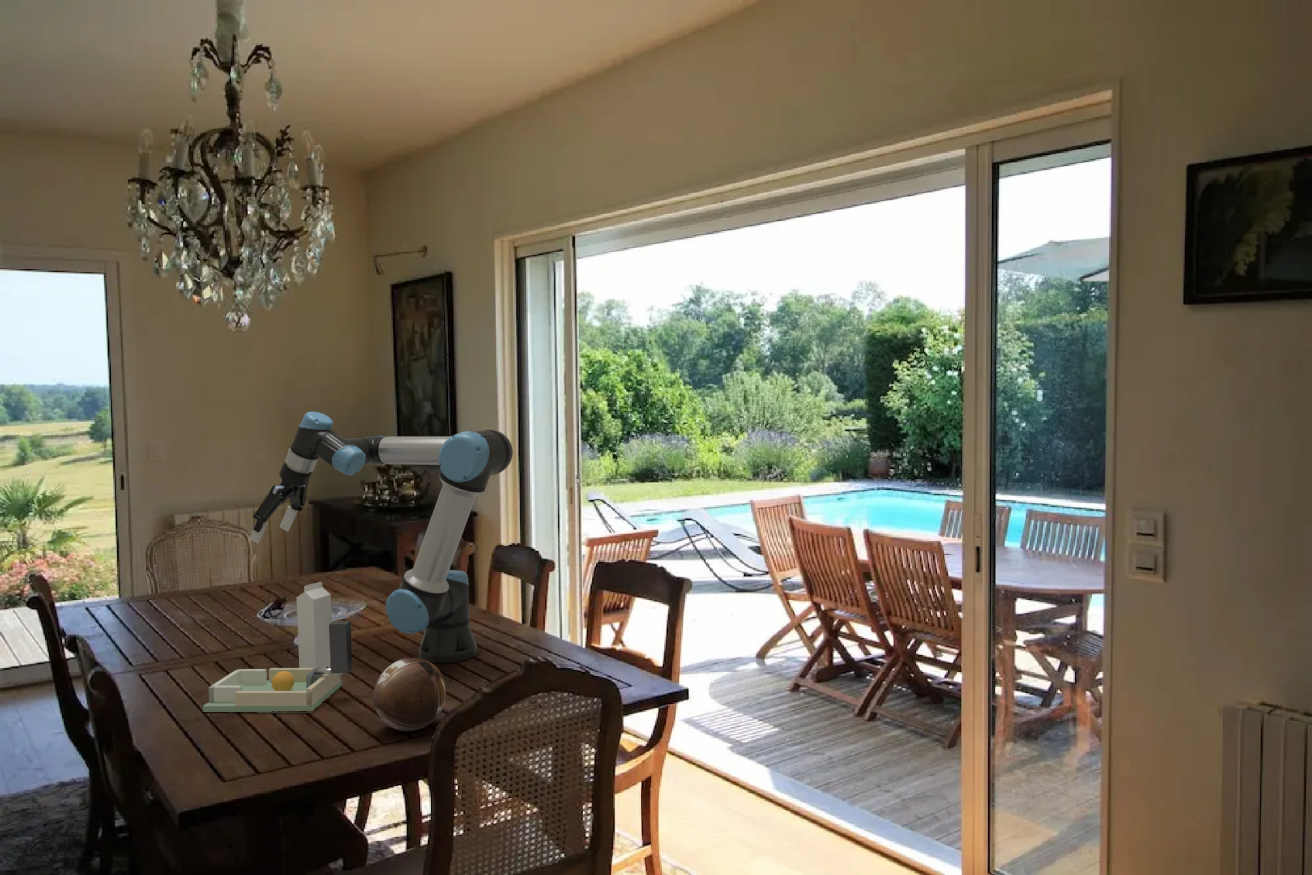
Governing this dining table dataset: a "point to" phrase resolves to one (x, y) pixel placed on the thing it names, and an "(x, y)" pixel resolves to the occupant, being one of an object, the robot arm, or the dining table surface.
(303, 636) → the milk
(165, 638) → the dining table surface
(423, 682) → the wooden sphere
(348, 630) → the kicker rod
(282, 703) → the pitch
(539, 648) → the dining table surface
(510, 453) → the robot arm
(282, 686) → the ball
